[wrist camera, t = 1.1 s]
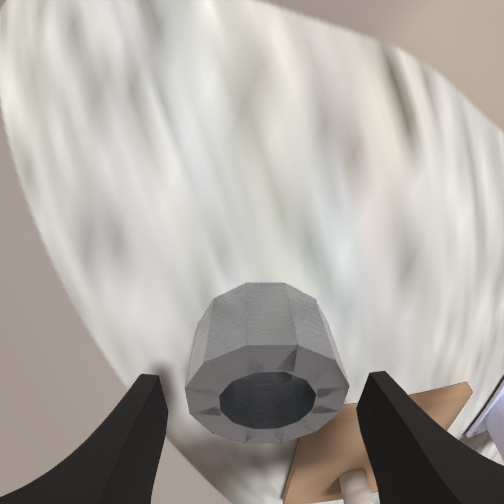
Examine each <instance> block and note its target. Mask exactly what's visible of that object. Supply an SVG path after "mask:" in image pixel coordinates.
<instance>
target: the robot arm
mask: <svg viewBox="0 0 504 504" xmlns="http://www.w3.org/2000/svg"><path fill="white" fill-rule="evenodd" d="M356 411H357V417H358V423H359V428H360V433H361V436H362V439H363V442H364V445H365V448H366V451H367V455H368V458H369V461H370V464H371V467H372V470H373V473H374V476H375V480H376V484H377V488H378V493H379V499H380V504H504V466H503V465H500V464H498V463H496V462H494V461H492V460H490V459H488V458H486V457H484V456H482V455H481V454H479V453H477V452H476V451H474V450H472V449H471V448H469V447H468V446H466V445H465V444H463V443H462V442H460V441H459V440H458V439H456V438H455V437H453V436H452V435H451V434H450V433H448V432H447V431H446V430H445V429H443V428H442V427H441V426H440V425H439V424H438V423H436V422H435V421H434V420H433V419H432V418H431V417H430V416H429V415H428V414H427V413H426V412H424V411H423V410H422V409H421V408H420V407H419V406H418V405H417V404H416V403H415V402H414V401H413V400H412V399H411V398H410V397H409V395H408V394H407V393H406V392H405V391H404V390H403V389H402V388H401V387H400V386H399V385H398V384H397V383H396V382H395V381H394V380H393V379H392V378H391V377H390V376H389V375H388V374H387V373H386V372H385V371H380V372H372V373H369V376H368V378H367V381H366V384H365V387H364V389H363V392H362V394H361V397H360V400H359V402H358V405H357V407H356ZM167 418H168V409H167V405H166V402H165V398H164V394H163V390H162V387H161V383H160V379H159V375H149V374H141V375H140V376H139V377H138V378H137V380H136V381H135V382H134V384H133V385H132V386H131V388H130V389H129V391H128V392H127V393H126V394H125V396H124V397H123V398H122V400H121V401H120V402H119V404H118V405H117V406H116V407H115V408H114V410H113V411H112V412H111V413H110V414H109V416H108V417H107V418H106V419H105V420H104V421H103V423H102V424H101V425H100V426H99V427H98V428H97V429H96V430H95V431H94V432H93V433H92V434H91V436H90V437H89V438H88V439H87V440H86V441H85V442H84V443H83V444H81V445H80V446H79V447H78V448H77V449H76V450H75V451H74V452H73V453H72V454H71V455H69V456H68V457H67V458H65V459H64V460H63V461H62V462H60V463H59V464H58V465H57V466H55V467H54V468H53V469H51V470H50V471H48V472H47V473H45V474H44V475H42V476H40V477H39V478H37V479H36V480H34V481H32V482H31V483H29V484H27V485H25V486H24V487H22V488H20V489H17V490H15V491H13V492H11V493H9V494H6V495H4V496H2V497H0V504H150V503H151V495H152V490H153V485H154V480H155V476H156V472H157V468H158V464H159V459H160V456H161V452H162V448H163V444H164V439H165V434H166V427H167ZM484 431H488V433H489V434H490V436H491V438H492V440H493V442H494V444H495V445H496V447H497V449H498V451H499V453H500V455H501V457H502V459H503V461H504V380H503V381H502V383H501V385H500V386H499V388H498V389H497V391H496V392H495V394H494V396H493V397H492V399H491V400H490V402H489V403H488V404H487V406H486V407H485V409H484V410H483V412H482V413H481V414H480V416H479V417H478V419H477V420H476V421H475V423H474V424H473V425H472V427H471V428H470V429H469V430H468V432H467V433H466V436H467V438H470V437H472V436H475V435H477V434H480V433H482V432H484Z"/></svg>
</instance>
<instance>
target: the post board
mask: <svg viewBox="0 0 504 504" xmlns="http://www.w3.org/2000/svg"><path fill="white" fill-rule="evenodd" d="M472 393H473V391H472V389H471V388H470V386H469V385H468V383H467V382H464V383H460V384H456V385H452V386H448V387H444V388H440V389H436V390H431V391H427V392H422V393H417V394H412V395H409V397H410V398H411V399H412V400H413V401H414V402H415V403H416V404H417V405H418V406H419V407H420V408H421V409H422V410H423V411H424V412H426V413H427V414H428V415H429V416H430V417H431V418H432V419H433V420H434V421H435V422H436V423H438V424H439V425H440V426H441V427H442V428H443V429H445V430H446V431H447V430H448V428H449V427H450V426H451V424H452V423H453V422H454V420H455V419H456V417H457V416H458V414H459V413H460V411H461V410H462V408H463V407H464V405H465V404H466V402H467V401H468V399H469V398H470V396H471V395H472ZM357 405H358V403H355V404H346V405H343V406H342V409H341V412H339V413H338V414H337V415H336V416H335V417H333V418H332V419H331V420H330V421H329V422H327V423H326V424H325V425H324V426H322V427H321V428H320V429H319V430H317V431H316V432H313V433H310V434H307V435H305V436H302V437H299V440H298V444H297V447H296V451H295V455H294V458H293V462H292V466H291V469H290V473H289V476H288V480H287V483H286V486H285V490H284V493H283V496H282V497H283V504H308V503H317V502H325V501H332V500H339V499H343V500H344V504H374V501H373V497H372V493H375V492H378V488H377V484H376V480H375V476H374V473H373V470H372V467H371V464H370V461H369V458H368V455H367V451H366V448H365V445H364V442H363V439H362V436H361V433H360V428H359V423H358V417H357V411H356V407H357Z"/></svg>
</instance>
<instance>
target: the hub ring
mask: <svg viewBox="0 0 504 504" xmlns="http://www.w3.org/2000/svg"><path fill="white" fill-rule="evenodd" d="M348 389H349V383H348V380H347V377H346V374H345V371H344V368H343V365H342V362H341V359H340V356H339V353H338V351H337V348H336V345H335V342H334V339H333V336H332V334H331V331H330V328H329V325H328V323H327V321H326V319H325V317H324V315H323V313H322V311H321V309H320V307H319V306H318V304H317V302H316V300H315V299H314V298H312V297H310V296H308V295H306V294H305V293H303V292H301V291H299V290H297V289H295V288H293V287H291V286H289V285H288V284H286V283H245V284H243V285H241V286H239V287H237V288H235V289H233V290H231V291H229V292H227V293H225V294H223V295H221V296H219V297H217V298H215V299H214V300H213V301H212V303H211V304H210V306H209V308H208V309H207V311H206V312H205V314H204V315H203V317H202V319H201V320H200V322H199V323H198V327H197V331H196V336H195V341H194V346H193V350H192V355H191V360H190V365H189V370H188V375H187V380H186V385H185V392H186V397H187V402H188V407H189V412H190V414H191V415H192V416H193V417H194V418H195V419H196V420H197V421H199V422H200V423H201V424H202V425H203V426H204V427H206V428H207V429H208V430H209V431H210V432H212V433H213V434H216V435H219V436H223V437H226V438H229V439H232V440H236V441H239V442H243V443H283V442H286V441H289V440H292V439H295V438H299V437H302V436H305V435H307V434H310V433H313V432H316V431H317V430H319V429H320V428H321V427H322V426H324V425H325V424H326V423H327V422H329V421H330V420H331V419H332V418H333V417H335V416H336V415H337V414H338V413H339V412H341V409H342V406H343V404H344V401H345V398H346V395H347V392H348Z"/></svg>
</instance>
